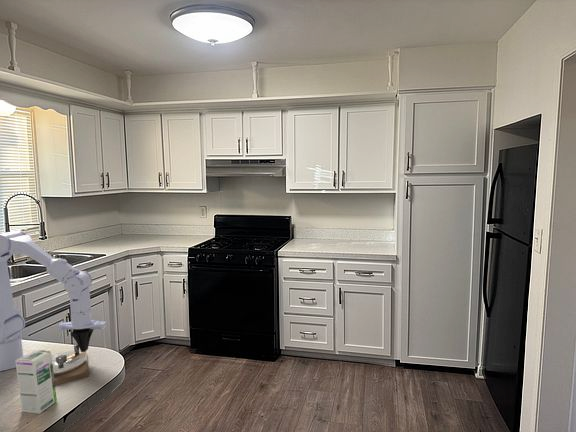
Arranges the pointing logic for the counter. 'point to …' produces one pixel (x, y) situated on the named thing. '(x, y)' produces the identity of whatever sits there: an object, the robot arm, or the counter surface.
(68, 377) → the tan base board
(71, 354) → the capstan dial
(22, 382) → the syrup box
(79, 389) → the counter surface
